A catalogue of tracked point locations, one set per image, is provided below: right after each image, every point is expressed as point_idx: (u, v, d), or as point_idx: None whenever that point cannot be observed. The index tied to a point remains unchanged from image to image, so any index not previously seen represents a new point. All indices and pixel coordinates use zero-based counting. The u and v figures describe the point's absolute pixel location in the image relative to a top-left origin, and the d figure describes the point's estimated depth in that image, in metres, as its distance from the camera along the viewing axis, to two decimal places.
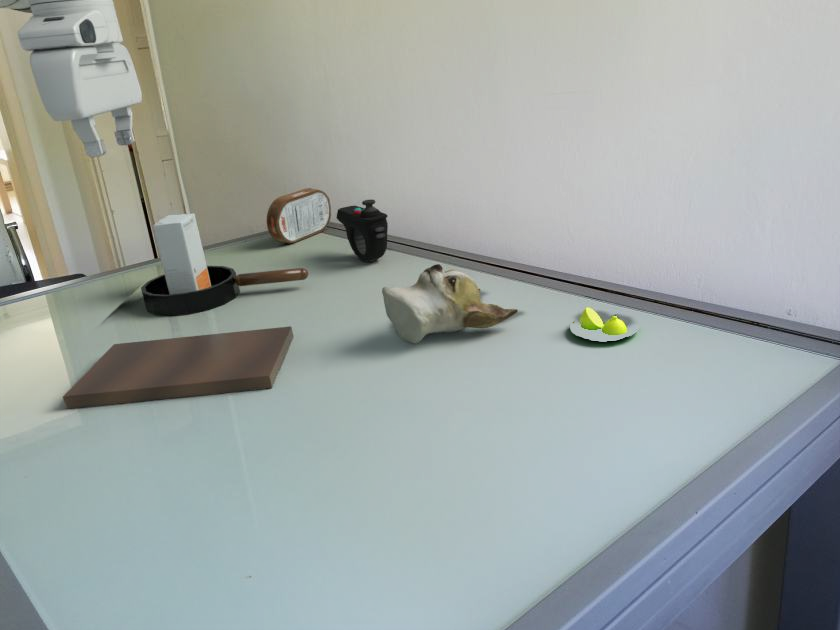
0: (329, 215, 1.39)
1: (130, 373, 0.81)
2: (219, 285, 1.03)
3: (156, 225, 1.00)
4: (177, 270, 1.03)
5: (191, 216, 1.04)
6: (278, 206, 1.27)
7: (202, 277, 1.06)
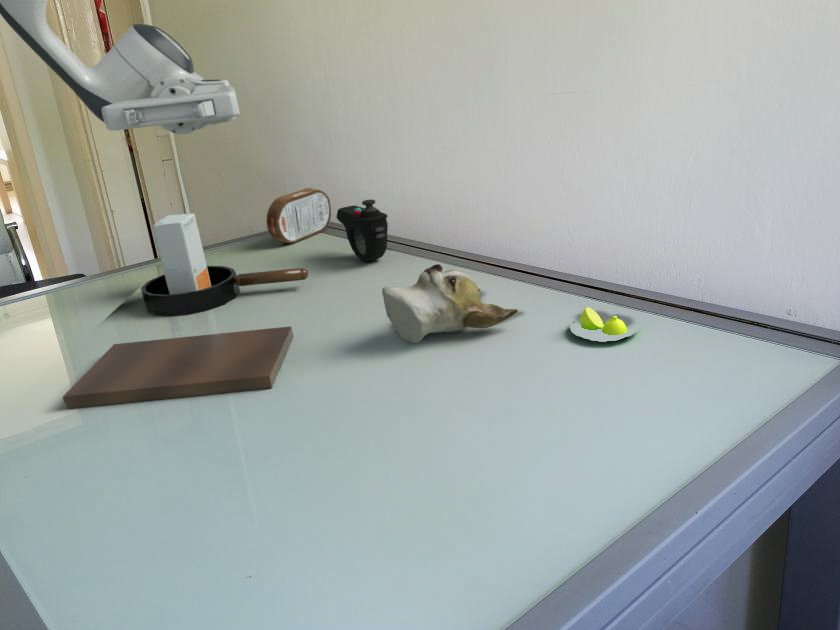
0: (329, 215, 1.39)
1: (130, 373, 0.81)
2: (219, 285, 1.03)
3: (156, 225, 1.00)
4: (177, 270, 1.03)
5: (191, 216, 1.04)
6: (278, 206, 1.27)
7: (202, 277, 1.06)
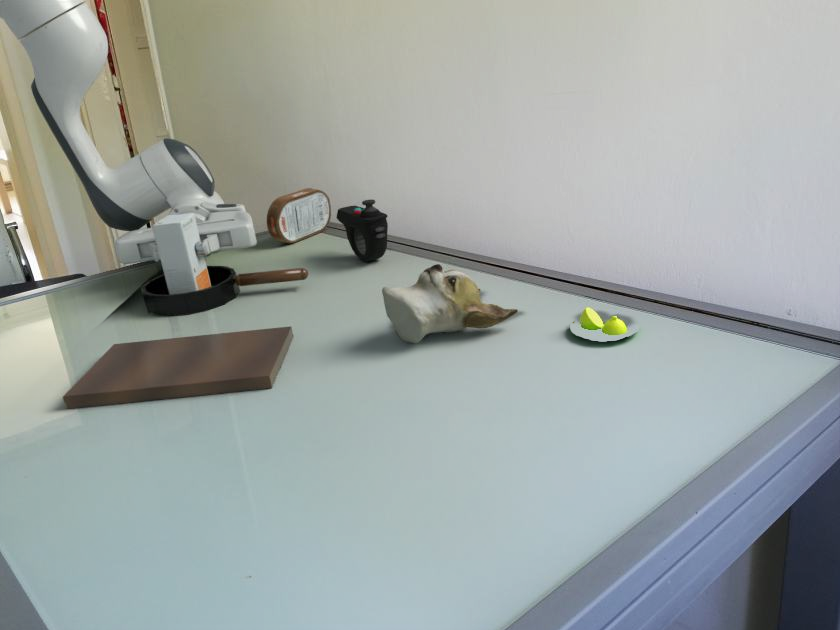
0: (329, 215, 1.39)
1: (130, 373, 0.81)
2: (219, 285, 1.03)
3: (156, 225, 1.00)
4: (177, 270, 1.03)
5: (191, 216, 1.04)
6: (278, 206, 1.27)
7: (202, 277, 1.06)
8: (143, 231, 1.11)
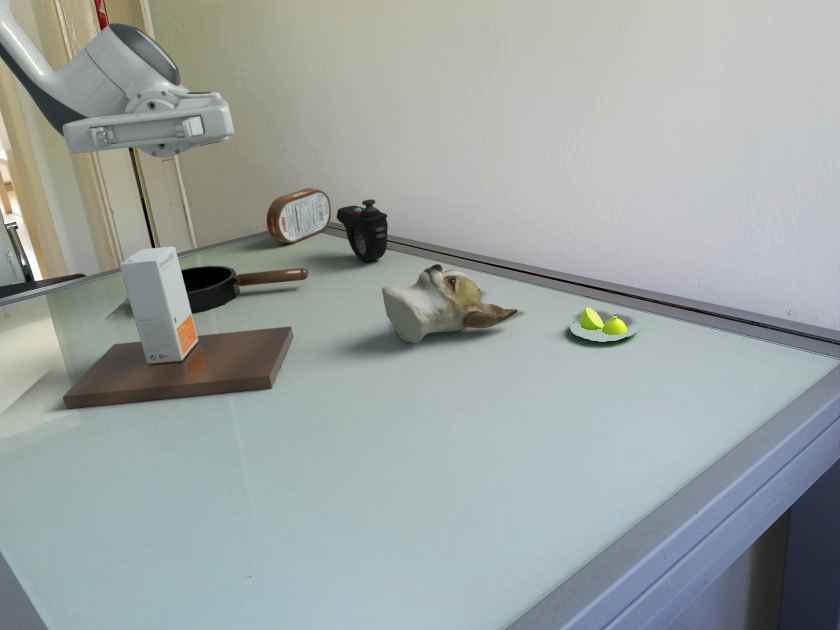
0: (329, 215, 1.39)
1: (130, 373, 0.81)
2: (219, 285, 1.03)
3: (124, 264, 0.78)
4: (152, 320, 0.80)
5: (170, 250, 0.82)
6: (278, 206, 1.27)
7: (185, 327, 0.84)
8: (99, 118, 0.94)
